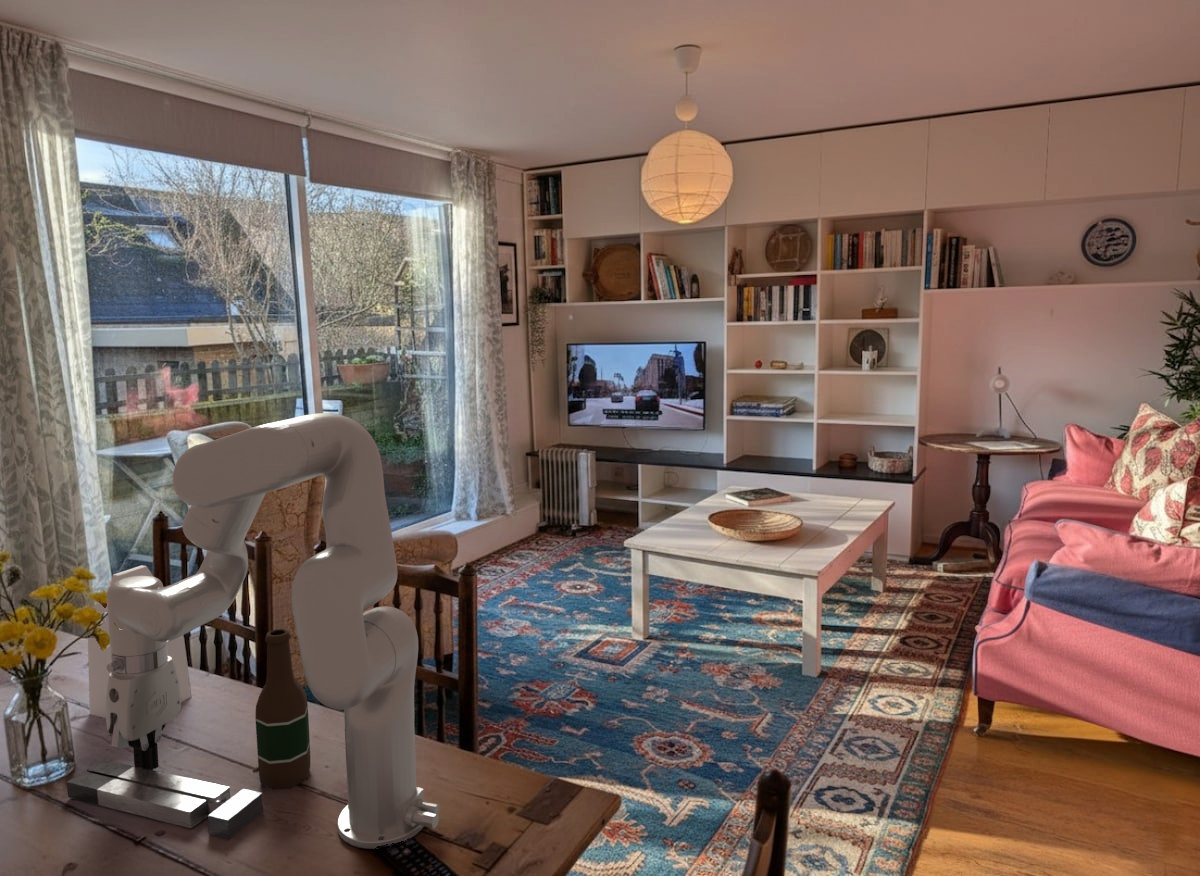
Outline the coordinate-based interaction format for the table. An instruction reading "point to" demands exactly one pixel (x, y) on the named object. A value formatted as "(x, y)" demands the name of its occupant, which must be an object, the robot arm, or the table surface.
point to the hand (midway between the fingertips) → (146, 767)
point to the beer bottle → (282, 719)
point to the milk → (103, 658)
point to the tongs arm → (165, 782)
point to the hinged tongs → (167, 803)
